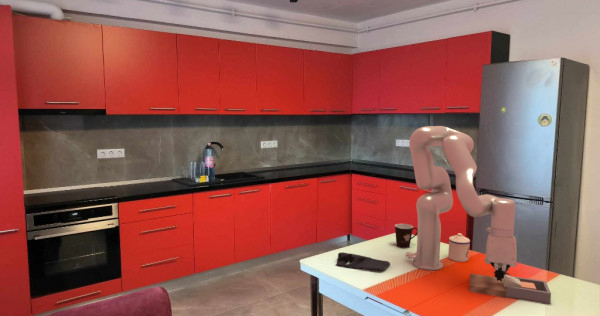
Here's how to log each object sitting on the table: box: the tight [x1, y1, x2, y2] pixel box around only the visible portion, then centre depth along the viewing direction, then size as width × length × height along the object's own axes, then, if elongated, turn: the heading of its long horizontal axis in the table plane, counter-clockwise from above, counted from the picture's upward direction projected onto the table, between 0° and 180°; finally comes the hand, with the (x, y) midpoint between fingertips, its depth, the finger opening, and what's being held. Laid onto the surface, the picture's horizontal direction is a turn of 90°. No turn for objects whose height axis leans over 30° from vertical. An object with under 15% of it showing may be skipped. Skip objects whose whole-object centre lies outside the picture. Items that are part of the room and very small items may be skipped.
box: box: [504, 275, 552, 305], centre depth 150 cm, size 14×11×4 cm
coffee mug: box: [394, 223, 418, 249], centre depth 201 cm, size 12×9×10 cm
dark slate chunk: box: [335, 251, 391, 272], centre depth 178 cm, size 15×22×5 cm
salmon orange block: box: [520, 281, 536, 290], centre depth 150 cm, size 5×5×3 cm
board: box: [469, 273, 507, 298], centre depth 155 cm, size 12×12×2 cm
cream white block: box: [502, 274, 521, 288], centre depth 152 cm, size 5×5×3 cm
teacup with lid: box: [448, 232, 471, 263], centre depth 186 cm, size 12×9×12 cm
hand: (499, 279), depth 153 cm, fingers closed
